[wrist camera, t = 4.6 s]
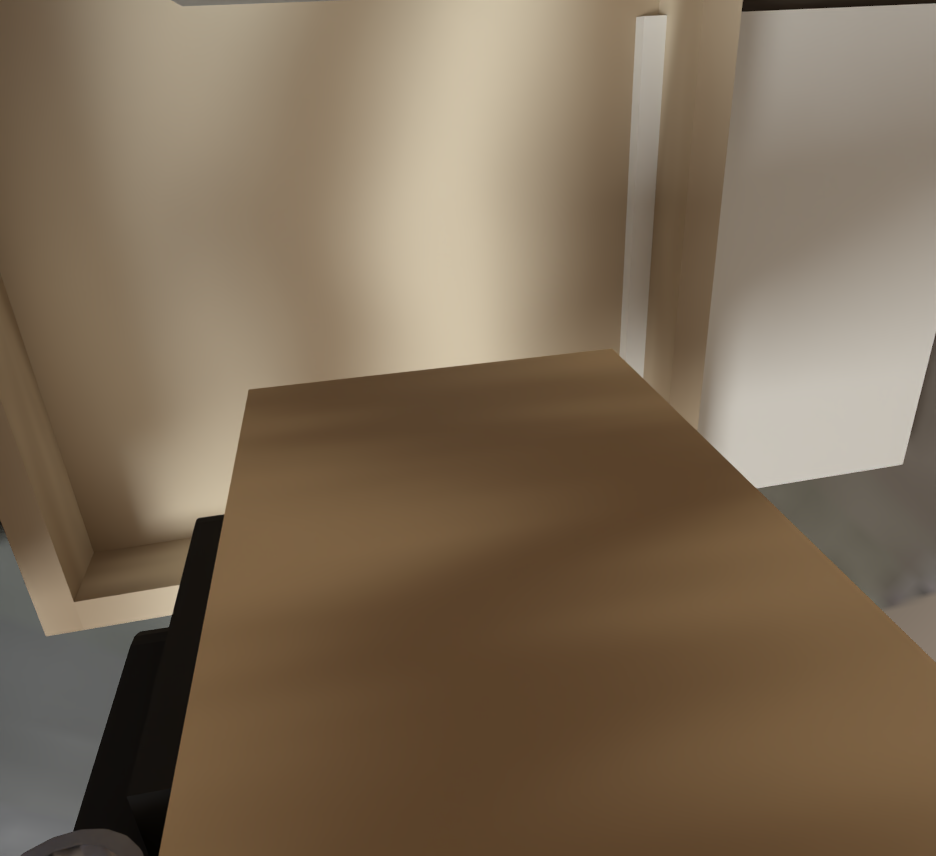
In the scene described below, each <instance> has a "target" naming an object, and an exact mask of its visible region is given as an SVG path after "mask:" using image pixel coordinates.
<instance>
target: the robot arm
mask: <svg viewBox="0 0 936 856" xmlns="http://www.w3.org/2000/svg"><path fill="white" fill-rule="evenodd" d="M223 519H224V514H223V515H216V516H208V517H201V518H198V519H197V520H196V522H195V526H194V530H193V534H192V538H191V542H190V546H189V550H188V554H187V558H186V562H185V566H184V570H183V574H182V578H181V582H180V586H179V590H178V594H177V597H176V601H175V605H174V609H173V613H172V617H171V621H170V625H169V627H168V628H161V629H155V630H148V631H142V632H139V633H138V634H137V635H136V636H135V637H134V639H133V641H132V644H131V646H130V649H129V652H128V656H127V659H126V662H125V665H124V669H123V672H122V675H121V678H120V682H119V685H118V688H117V691H116V695H115V698H114V701H113V704H112V708H111V711H110V714H109V717H108V720H107V724H106V727H105V730H104V733H103V737H102V740H101V743H100V746H99V750H98V753H97V756H96V759H95V763H94V766H93V769H92V772H91V776H90V779H89V782H88V785H87V789H86V792H85V795H84V798H83V801H82V805H81V808H80V811H79V814H78V818H77V821H76V824H75V827H74V831H73V832H70V833H67V834H63V835H60V836H56V837H53V838H51V839H49V840H47V841H45V842H44V843H42V844H40V845H38V846H36V847H34V848H32V849H30V850H28V851H27V852H25V853H23V854H22V855H21V856H159V851H160V846H161V841H162V835H163V830H164V825H165V820H166V815H167V810H168V804H169V799H170V794H171V789H172V784H173V778H174V773H175V768H176V763H177V758H178V753H179V747H180V742H181V737H182V732H183V727H184V721H185V716H186V711H187V706H188V701H189V696H190V690H191V685H192V680H193V675H194V670H195V664H196V659H197V654H198V649H199V644H200V639H201V633H202V628H203V623H204V618H205V613H206V607H207V602H208V597H209V592H210V587H211V582H212V576H213V571H214V566H215V561H216V556H217V550H218V545H219V540H220V535H221V530H222V525H223Z"/></svg>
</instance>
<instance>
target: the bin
mask: <svg viewBox="0 0 936 856" xmlns="http://www.w3.org/2000/svg"><path fill="white" fill-rule="evenodd" d="M742 3H743V0H339V1H312V2H285V3H258V4H231V5H204V6H181V5H179V4H177V3H175V2H174V1H172V0H0V520H1V523H2V526H3V528H4V531H5V533H6V536H7V538H8V541H9V543H10V546H11V548H12V551H13V553H14V556H15V559H16V561H17V564H18V566H19V569H20V571H21V574H22V576H23V579H24V581H25V584H26V586H27V589H28V592H29V594H30V597H31V599H32V602H33V604H34V607H35V609H36V612H37V614H38V617H39V619H40V622H41V624H42V627H43V630H44V632H45V635H46V636H51V635H57V634H63V633H68V632H74V631H80V630H86V629H92V628H98V627H104V626H110V625H115V624H121V623H127V622H133V621H139V620H145V619H151V618H157V617H162V616H168V615H172V613H173V609H174V605H175V601H176V597H177V594H178V590H179V586H180V582H181V578H182V574H183V570H184V566H185V562H186V558H187V554H188V550H189V546H190V542H191V538H192V534H193V530H194V526H195V522H196V520H197V519H198V518H201V517H208V516H216V515H223V514H225V509H226V504H227V499H228V493H229V488H230V483H231V478H232V473H233V468H234V462H235V457H236V452H237V447H238V442H239V436H240V431H241V426H242V421H243V416H244V411H245V405H246V400H247V395H248V390H249V389H257V388H266V387H275V386H284V385H293V384H302V383H311V382H319V381H328V380H337V379H346V378H355V377H364V376H373V375H382V374H391V373H399V372H408V371H417V370H426V369H435V368H444V367H453V366H462V365H470V364H479V363H488V362H497V361H506V360H515V359H524V358H533V357H542V356H550V355H559V354H568V353H577V352H586V351H595V350H604V349H613V350H614V351H615V352H616V353H617V354H618V355H620V335H621V315H622V295H623V274H624V254H625V234H626V214H627V194H628V174H629V153H630V133H631V113H632V93H633V73H634V52H635V32H636V17H641V16H657V15H667V24H666V39H665V54H664V70H663V85H662V100H661V115H660V130H659V146H658V161H657V176H656V191H655V206H654V221H653V237H652V252H651V267H650V282H649V297H648V313H647V328H646V343H645V358H644V373H643V379H644V380H645V381H646V382H647V383H648V384H649V385H650V386H651V387H652V388H653V389H654V390H655V391H656V392H658V393H659V394H660V395H661V396H662V397H663V398H664V399H665V400H666V401H667V402H668V403H669V404H670V405H671V406H672V407H673V408H674V409H675V410H676V411H677V412H678V413H679V414H680V415H681V416H682V417H683V418H684V419H685V420H686V421H687V422H688V423H689V424H690V425H692V426H693V427H694V428H695V429H696V430H698V421H699V411H700V402H701V392H702V383H703V373H704V364H705V354H706V345H707V335H708V326H709V316H710V307H711V297H712V288H713V278H714V269H715V259H716V250H717V240H718V231H719V221H720V212H721V202H722V193H723V183H724V174H725V164H726V155H727V145H728V136H729V126H730V117H731V107H732V98H733V88H734V79H735V69H736V60H737V50H738V41H739V31H740V22H741V12H742Z"/></svg>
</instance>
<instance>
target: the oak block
mask: <svg viewBox="0 0 936 856" xmlns="http://www.w3.org/2000/svg"><path fill="white" fill-rule="evenodd" d="M159 856H936V662H934V661H933V660H932V659H931V658H930V657H929V656H928V655H927V654H926V653H925V652H924V651H923V650H922V649H921V648H920V647H919V646H918V645H917V644H916V643H915V642H914V641H913V640H912V639H911V638H910V637H909V636H908V635H907V634H906V633H905V632H904V631H903V630H902V629H901V628H899V627H898V626H897V625H896V624H895V623H894V622H893V621H892V620H891V619H890V618H889V617H888V616H887V615H886V614H885V613H884V612H883V611H882V610H881V609H880V608H879V607H878V606H877V605H876V604H875V603H874V602H873V601H872V600H871V599H870V598H869V597H868V596H867V595H866V594H865V593H863V592H862V591H861V590H860V589H859V588H858V587H857V586H856V585H855V584H854V583H853V582H852V581H851V580H850V579H849V578H848V577H847V576H846V575H845V574H844V573H843V572H842V571H841V570H840V569H839V568H838V567H837V566H836V565H835V564H834V563H833V562H832V561H831V560H830V559H828V558H827V557H826V556H825V555H824V554H823V553H822V552H821V551H820V550H819V549H818V548H817V547H816V546H815V545H814V544H813V543H812V542H811V541H810V540H809V539H808V538H807V537H806V536H805V535H804V534H803V533H802V532H801V531H800V530H799V529H798V528H797V527H796V526H794V525H793V524H792V523H791V522H790V521H789V520H788V519H787V518H786V517H785V516H784V515H783V514H782V513H781V512H780V511H779V510H778V509H777V508H776V507H775V506H774V505H773V504H772V503H771V502H770V501H769V500H768V499H767V498H766V497H765V496H764V495H763V494H762V493H761V492H759V491H758V490H757V489H756V488H755V487H754V486H753V485H752V484H751V483H750V482H749V481H748V480H747V479H746V478H745V477H744V476H743V475H742V474H741V473H740V472H739V471H738V470H737V469H736V468H735V467H734V466H733V465H732V464H731V463H730V462H729V461H728V460H727V459H725V458H724V457H723V456H722V455H721V454H720V453H719V452H718V451H717V450H716V449H715V448H714V447H713V446H712V445H711V444H710V443H709V442H708V441H707V440H706V439H705V438H704V437H703V436H702V435H701V434H700V433H699V432H698V431H697V430H696V429H695V428H694V427H693V426H692V425H690V424H689V423H688V422H687V421H686V420H685V419H684V418H683V417H682V416H681V415H680V414H679V413H678V412H677V411H676V410H675V409H674V408H673V407H672V406H671V405H670V404H669V403H668V402H667V401H666V400H665V399H664V398H663V397H662V396H661V395H660V394H659V393H658V392H656V391H655V390H654V389H653V388H652V387H651V386H650V385H649V384H648V383H647V382H646V381H645V380H644V379H643V378H642V377H641V376H640V375H639V374H638V373H637V372H636V371H635V370H634V369H633V368H632V367H631V366H630V365H629V364H628V363H627V362H626V361H625V360H624V359H623V358H621V357H620V356H619V355H618V354H617V353H616V352H615V351H614V350H613V349H604V350H595V351H586V352H577V353H568V354H559V355H550V356H542V357H533V358H524V359H515V360H506V361H497V362H488V363H479V364H470V365H462V366H453V367H444V368H435V369H426V370H417V371H408V372H399V373H391V374H382V375H373V376H364V377H355V378H346V379H337V380H328V381H319V382H311V383H302V384H293V385H284V386H275V387H266V388H257V389H249V390H248V395H247V400H246V405H245V411H244V416H243V421H242V426H241V431H240V436H239V442H238V447H237V452H236V457H235V462H234V468H233V473H232V478H231V483H230V488H229V493H228V499H227V504H226V509H225V514H224V519H223V525H222V530H221V535H220V540H219V545H218V550H217V556H216V561H215V566H214V571H213V576H212V582H211V587H210V592H209V597H208V602H207V607H206V613H205V618H204V623H203V628H202V633H201V639H200V644H199V649H198V654H197V659H196V664H195V670H194V675H193V680H192V685H191V690H190V696H189V701H188V706H187V711H186V716H185V721H184V727H183V732H182V737H181V742H180V747H179V753H178V758H177V763H176V768H175V773H174V778H173V784H172V789H171V794H170V799H169V804H168V810H167V815H166V820H165V825H164V830H163V835H162V841H161V846H160V851H159Z"/></svg>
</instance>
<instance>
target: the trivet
mask: <svg viewBox="0 0 936 856" xmlns="http://www.w3.org/2000/svg"><path fill="white" fill-rule="evenodd" d="M666 24H667V15H657V16H641V17H636V32H635V52H634V73H633V93H632V113H631V133H630V153H629V174H628V194H627V214H626V234H625V254H624V274H623V295H622V315H621V335H620V355H619V356H620V357H621V358H623V359H624V360H625V361H626V362H627V363H628V364H629V365H630V366H631V367H632V368H633V369H634V370H635V371H636V372H637V373H638V374H639V375H640V376H641V377H642V378H643V373H644V358H645V343H646V328H647V313H648V297H649V282H650V267H651V252H652V237H653V221H654V206H655V191H656V176H657V161H658V146H659V130H660V115H661V100H662V85H663V70H664V54H665V39H666ZM935 333H936V3H933V4H910V5H887V6H864V7H841V8H818V9H795V10H772V11H749V12H741V22H740V31H739V41H738V50H737V60H736V69H735V79H734V88H733V98H732V107H731V117H730V126H729V136H728V145H727V155H726V164H725V174H724V183H723V193H722V202H721V212H720V221H719V231H718V240H717V250H716V259H715V269H714V278H713V288H712V297H711V307H710V316H709V326H708V335H707V345H706V354H705V364H704V373H703V383H702V392H701V402H700V411H699V421H698V430H697V431H698V432H699V433H700V434H701V435H702V436H703V437H704V438H705V439H706V440H707V441H708V442H709V443H710V444H711V445H712V446H713V447H714V448H715V449H716V450H717V451H718V452H719V453H720V454H721V455H722V456H723V457H724V458H725V459H727V460H728V461H729V462H730V463H731V464H732V465H733V466H734V467H735V468H736V469H737V470H738V471H739V472H740V473H741V474H742V475H743V476H744V477H745V478H746V479H747V480H748V481H749V482H750V483H751V484H752V485H753V486H754V487H755V488H761V487H767V486H773V485H779V484H786V483H792V482H798V481H804V480H810V479H816V478H822V477H828V476H835V475H841V474H847V473H853V472H859V471H865V470H871V469H877V468H884V467H890V466H896V465H902V464H903V461H904V457H905V453H906V449H907V445H908V441H909V437H910V433H911V429H912V425H913V421H914V417H915V413H916V409H917V405H918V401H919V397H920V393H921V389H922V385H923V381H924V377H925V373H926V369H927V365H928V361H929V357H930V353H931V349H932V345H933V341H934V337H935Z"/></svg>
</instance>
